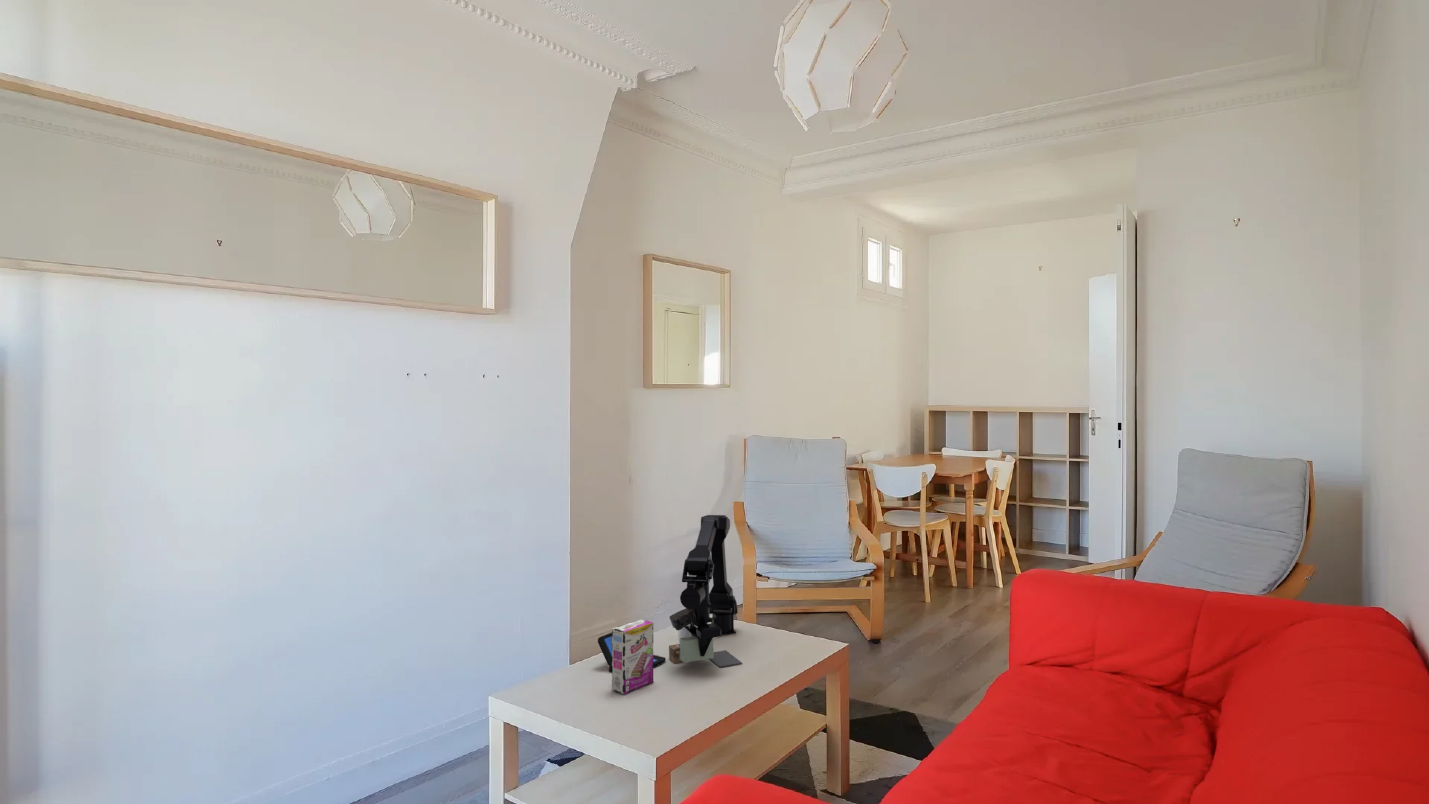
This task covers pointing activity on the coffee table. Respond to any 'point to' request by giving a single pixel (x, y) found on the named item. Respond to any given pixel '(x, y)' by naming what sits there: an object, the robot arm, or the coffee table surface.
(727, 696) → the coffee table surface
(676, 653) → the letter block
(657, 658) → the game console
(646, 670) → the candy bar box
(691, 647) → the sage rectangular block
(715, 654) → the dark gray panel
